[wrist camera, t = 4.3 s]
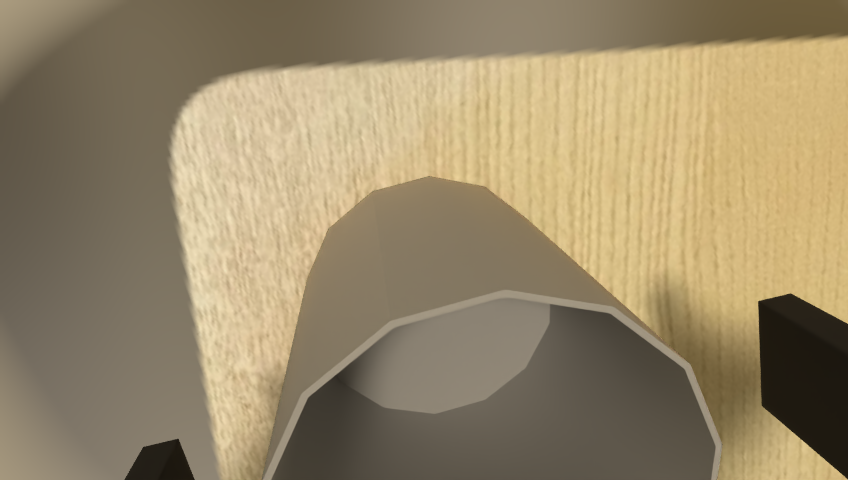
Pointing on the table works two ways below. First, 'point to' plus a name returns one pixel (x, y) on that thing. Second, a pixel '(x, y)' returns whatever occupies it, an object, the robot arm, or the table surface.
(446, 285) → the cup
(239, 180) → the table surface
